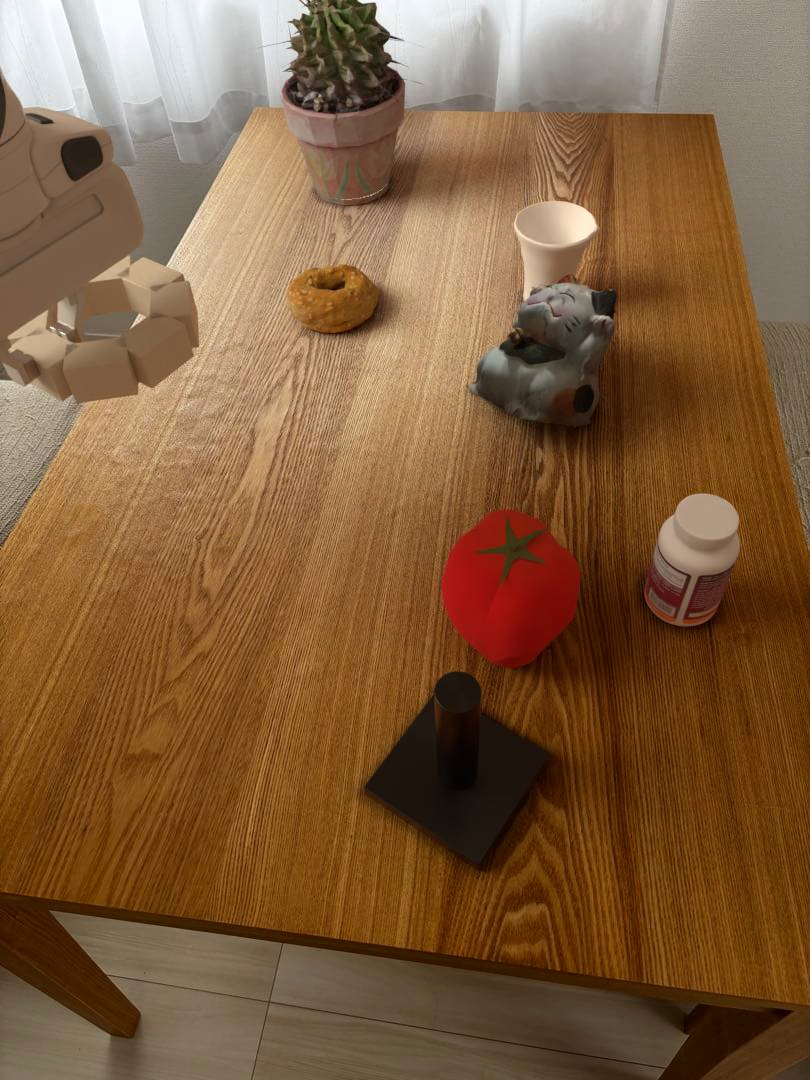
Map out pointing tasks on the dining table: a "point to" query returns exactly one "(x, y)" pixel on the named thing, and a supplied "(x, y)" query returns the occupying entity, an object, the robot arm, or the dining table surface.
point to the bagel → (332, 298)
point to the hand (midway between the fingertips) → (50, 361)
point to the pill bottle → (693, 560)
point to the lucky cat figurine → (551, 355)
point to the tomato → (510, 587)
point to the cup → (552, 241)
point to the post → (457, 772)
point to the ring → (132, 355)
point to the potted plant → (344, 99)
